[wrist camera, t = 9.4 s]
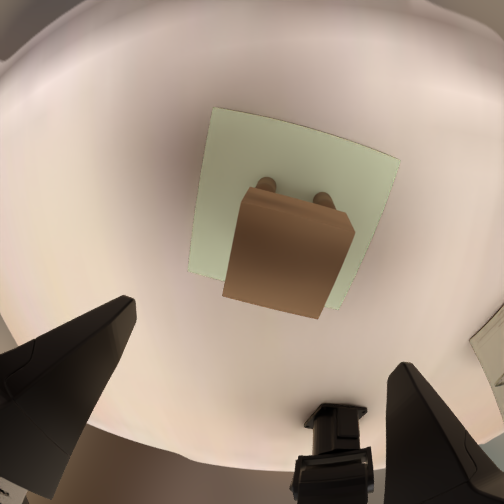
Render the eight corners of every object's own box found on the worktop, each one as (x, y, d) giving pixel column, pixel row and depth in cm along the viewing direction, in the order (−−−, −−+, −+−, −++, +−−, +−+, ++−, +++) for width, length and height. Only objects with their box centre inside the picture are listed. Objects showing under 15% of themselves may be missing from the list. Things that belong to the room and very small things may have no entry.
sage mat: (337, 302, 21) (338, 310, 20) (191, 264, 22) (187, 271, 21) (395, 158, 16) (400, 160, 15) (217, 107, 16) (212, 107, 15)
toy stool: (312, 261, 19) (317, 319, 14) (242, 243, 19) (222, 296, 14) (336, 193, 16) (355, 232, 11) (258, 172, 16) (240, 201, 11)
